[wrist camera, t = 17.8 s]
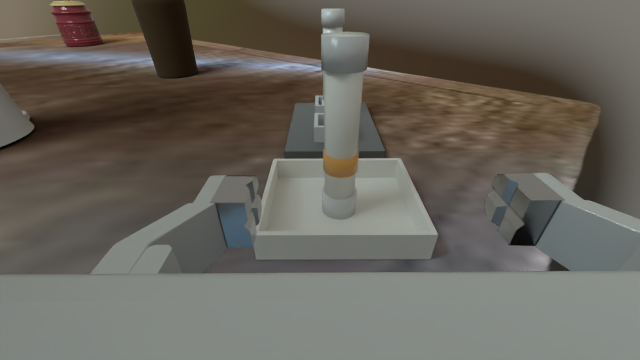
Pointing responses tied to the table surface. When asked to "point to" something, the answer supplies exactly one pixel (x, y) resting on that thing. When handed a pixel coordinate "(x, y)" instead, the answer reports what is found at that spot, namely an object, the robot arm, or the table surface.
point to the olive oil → (167, 36)
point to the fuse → (332, 25)
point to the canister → (75, 23)
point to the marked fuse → (342, 118)
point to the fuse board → (310, 133)
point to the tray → (347, 234)
